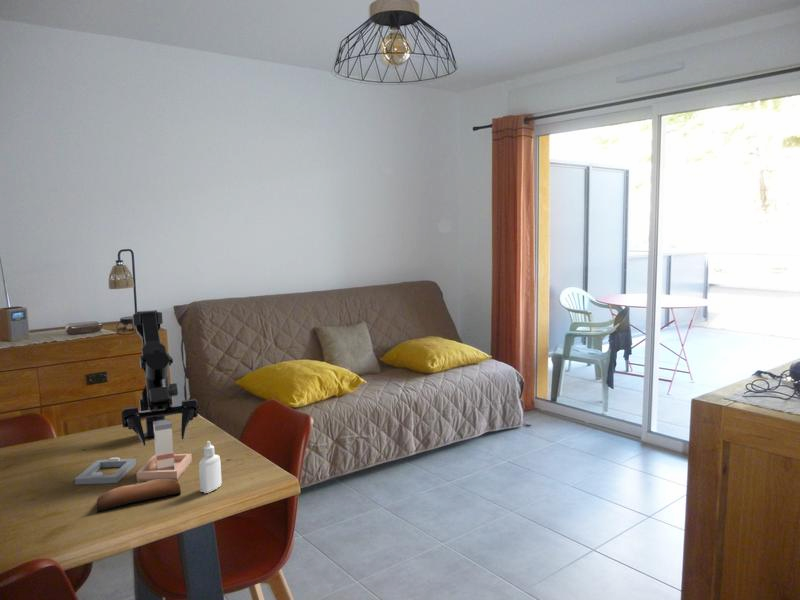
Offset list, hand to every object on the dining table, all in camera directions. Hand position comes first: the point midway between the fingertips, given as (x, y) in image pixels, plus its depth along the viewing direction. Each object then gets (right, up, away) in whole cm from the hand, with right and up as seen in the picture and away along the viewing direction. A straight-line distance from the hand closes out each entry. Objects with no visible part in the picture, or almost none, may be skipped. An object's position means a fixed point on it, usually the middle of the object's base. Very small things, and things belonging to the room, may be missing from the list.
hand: (163, 441), depth 151 cm
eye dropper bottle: (+15, -10, -9) cm, 20 cm away
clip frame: (-15, -9, +2) cm, 18 cm away
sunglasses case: (-1, -11, -13) cm, 17 cm away
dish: (0, -8, +2) cm, 9 cm away
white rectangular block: (0, -8, +2) cm, 8 cm away
